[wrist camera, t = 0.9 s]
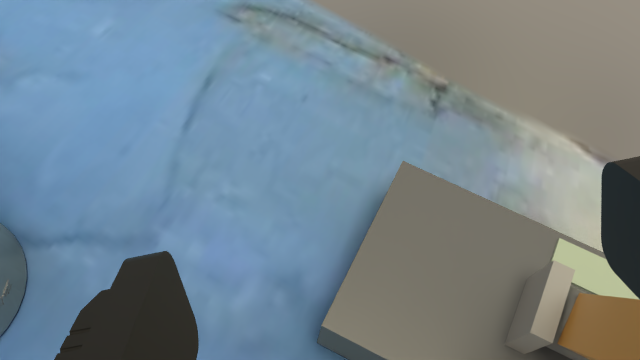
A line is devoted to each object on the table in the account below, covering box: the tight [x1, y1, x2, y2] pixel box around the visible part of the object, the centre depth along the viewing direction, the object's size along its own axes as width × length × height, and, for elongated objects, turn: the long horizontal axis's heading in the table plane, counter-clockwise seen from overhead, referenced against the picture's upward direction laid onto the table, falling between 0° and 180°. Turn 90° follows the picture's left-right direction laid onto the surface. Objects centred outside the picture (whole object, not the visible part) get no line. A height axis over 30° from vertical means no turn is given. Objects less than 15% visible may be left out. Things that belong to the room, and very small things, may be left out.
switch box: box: [317, 161, 640, 360], centre depth 28 cm, size 24×10×8 cm, turn 63°
